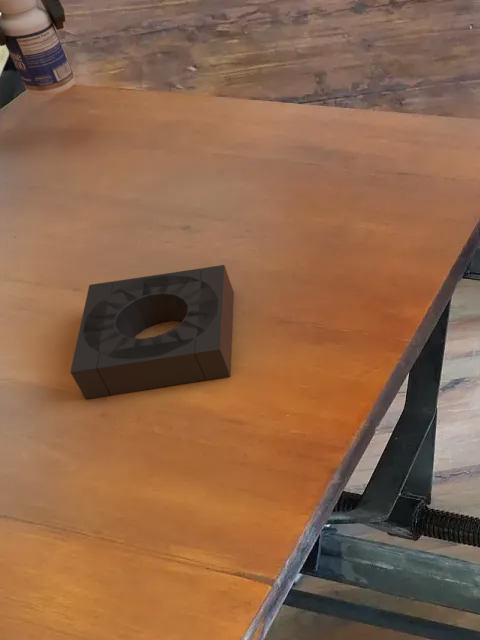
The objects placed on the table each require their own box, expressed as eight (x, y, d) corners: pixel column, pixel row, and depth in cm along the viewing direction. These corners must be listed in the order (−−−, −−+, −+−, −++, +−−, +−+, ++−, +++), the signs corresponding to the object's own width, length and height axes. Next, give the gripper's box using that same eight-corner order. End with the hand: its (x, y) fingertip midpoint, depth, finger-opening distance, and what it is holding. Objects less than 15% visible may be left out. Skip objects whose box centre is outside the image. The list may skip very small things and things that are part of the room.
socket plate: (85, 399, 74) (70, 372, 71) (102, 311, 81) (89, 284, 79) (230, 376, 74) (220, 349, 72) (233, 291, 82) (224, 264, 80)
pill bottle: (23, 83, 100) (-20, -11, 92) (72, 71, 101) (33, -23, 94) (30, 102, 97) (-13, 6, 89) (80, 89, 98) (41, -6, 91)
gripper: (-141, -136, 85) (-45, 34, 87) (10, -167, 90) (97, -5, 92) (-120, -85, 92) (-32, 71, 94) (19, -117, 97) (99, 32, 99)
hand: (31, 32), depth 93 cm, fingers closed on pill bottle, 5 cm apart
